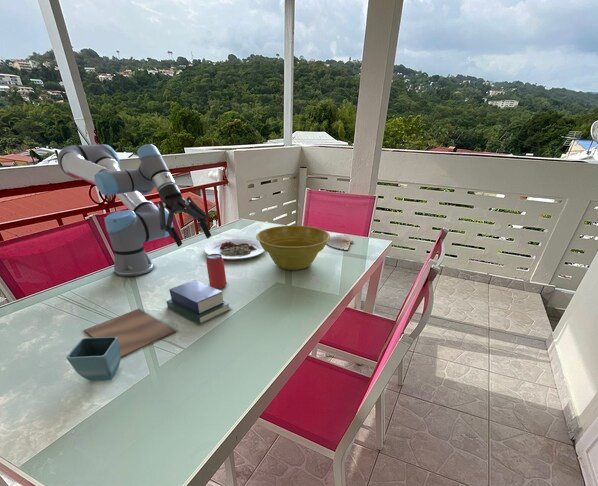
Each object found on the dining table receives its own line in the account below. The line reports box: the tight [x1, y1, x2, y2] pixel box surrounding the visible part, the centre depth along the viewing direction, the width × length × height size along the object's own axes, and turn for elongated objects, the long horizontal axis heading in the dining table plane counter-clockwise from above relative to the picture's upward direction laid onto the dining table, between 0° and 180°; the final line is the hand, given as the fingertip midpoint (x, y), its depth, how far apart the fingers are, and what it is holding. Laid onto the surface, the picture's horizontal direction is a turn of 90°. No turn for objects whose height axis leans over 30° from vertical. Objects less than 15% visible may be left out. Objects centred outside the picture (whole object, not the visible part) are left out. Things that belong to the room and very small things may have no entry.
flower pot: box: [65, 337, 122, 382], centre depth 83 cm, size 9×9×9 cm
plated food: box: [204, 238, 266, 261], centre depth 163 cm, size 30×30×3 cm
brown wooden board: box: [83, 308, 177, 359], centre depth 102 cm, size 22×18×1 cm
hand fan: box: [326, 233, 354, 251], centre depth 178 cm, size 26×1×15 cm
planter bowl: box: [255, 225, 331, 271], centre depth 147 cm, size 32×32×13 cm
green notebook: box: [165, 298, 231, 325], centre depth 115 cm, size 18×13×2 cm
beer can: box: [205, 254, 228, 289], centre depth 128 cm, size 7×7×12 cm
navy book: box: [168, 279, 224, 315], centre depth 112 cm, size 15×10×4 cm
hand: (195, 241), depth 128 cm, fingers open, 13 cm apart
